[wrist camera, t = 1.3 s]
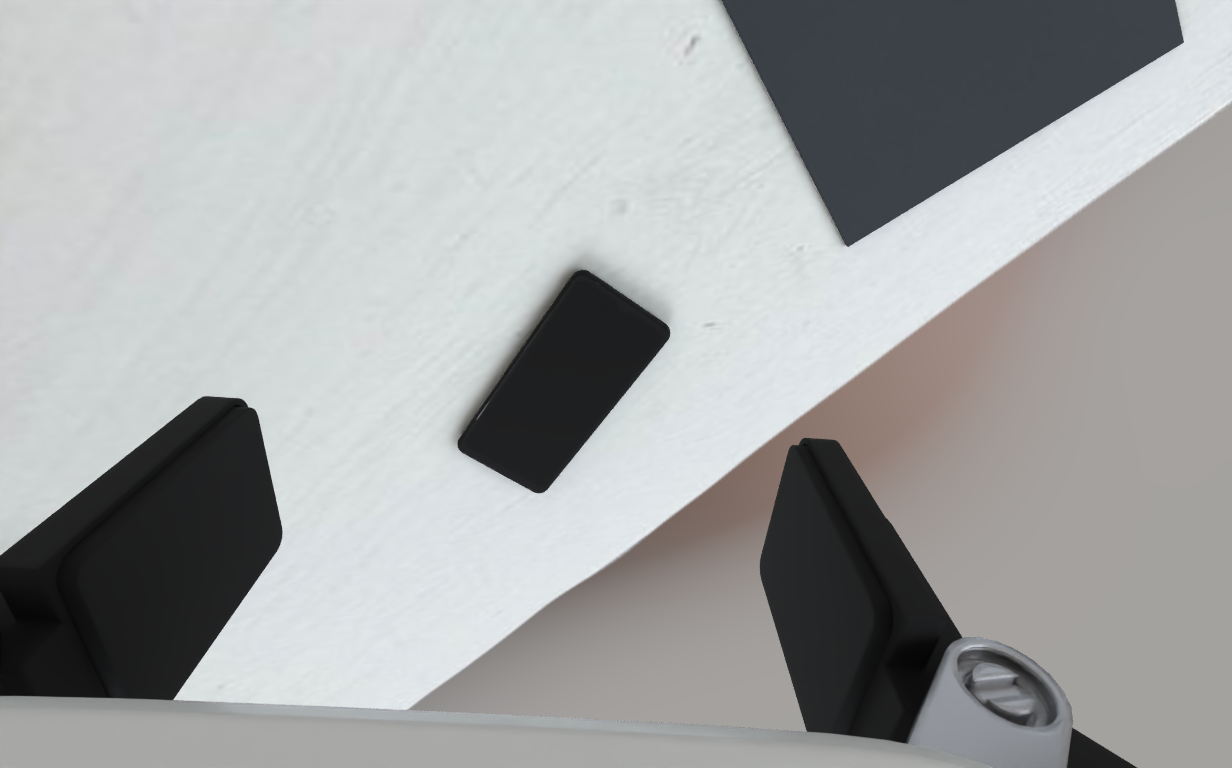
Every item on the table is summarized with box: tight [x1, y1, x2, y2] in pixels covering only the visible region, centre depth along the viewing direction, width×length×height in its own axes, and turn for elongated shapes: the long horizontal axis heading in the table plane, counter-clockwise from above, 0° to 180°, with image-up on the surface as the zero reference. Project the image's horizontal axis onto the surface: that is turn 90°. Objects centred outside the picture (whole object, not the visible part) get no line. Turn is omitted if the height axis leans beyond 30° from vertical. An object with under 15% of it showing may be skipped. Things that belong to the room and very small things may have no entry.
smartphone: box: [458, 270, 670, 493], centre depth 38 cm, size 7×1×15 cm
